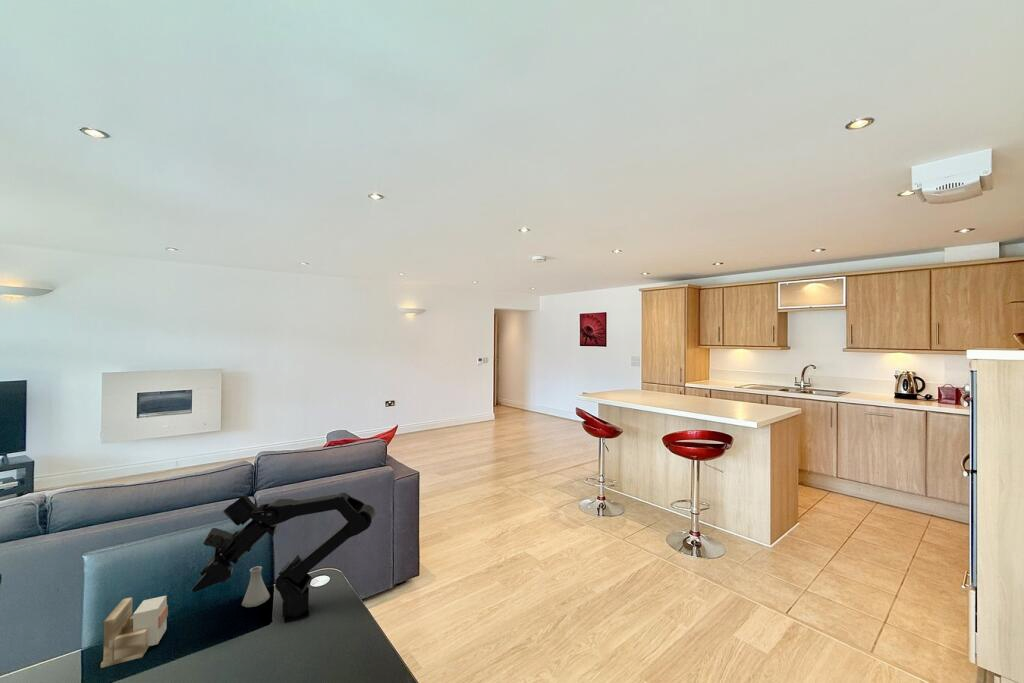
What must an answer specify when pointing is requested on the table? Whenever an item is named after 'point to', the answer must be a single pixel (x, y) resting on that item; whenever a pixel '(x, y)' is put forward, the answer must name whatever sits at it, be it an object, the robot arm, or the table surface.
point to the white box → (152, 618)
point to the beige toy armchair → (122, 636)
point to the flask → (255, 589)
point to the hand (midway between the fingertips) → (197, 582)
